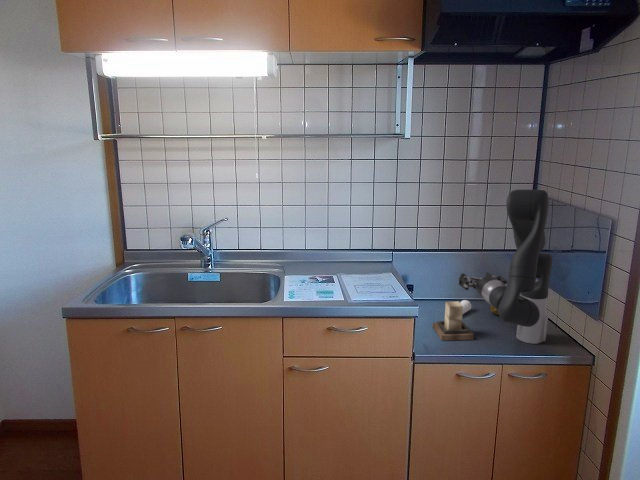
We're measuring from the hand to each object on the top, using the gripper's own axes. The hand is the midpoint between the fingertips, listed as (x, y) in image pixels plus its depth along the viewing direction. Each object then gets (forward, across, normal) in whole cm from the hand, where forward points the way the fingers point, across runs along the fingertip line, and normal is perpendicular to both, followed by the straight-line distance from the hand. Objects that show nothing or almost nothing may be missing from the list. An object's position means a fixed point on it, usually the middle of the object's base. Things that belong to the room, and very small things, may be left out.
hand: (474, 275), depth 166 cm
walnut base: (+15, +1, +28) cm, 32 cm away
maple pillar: (+15, +1, +26) cm, 30 cm away
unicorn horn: (+30, -6, +28) cm, 42 cm away
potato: (+28, -26, +28) cm, 47 cm away
